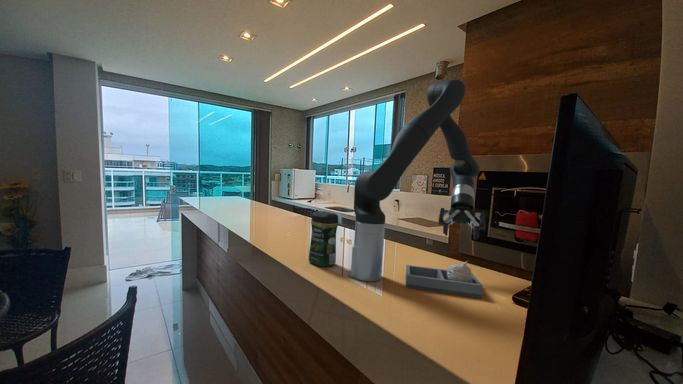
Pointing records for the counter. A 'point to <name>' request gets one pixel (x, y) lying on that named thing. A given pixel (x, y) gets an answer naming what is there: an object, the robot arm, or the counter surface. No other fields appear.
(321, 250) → the coffee jar
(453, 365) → the counter surface
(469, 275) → the garlic bulb
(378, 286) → the counter surface
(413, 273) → the tray
